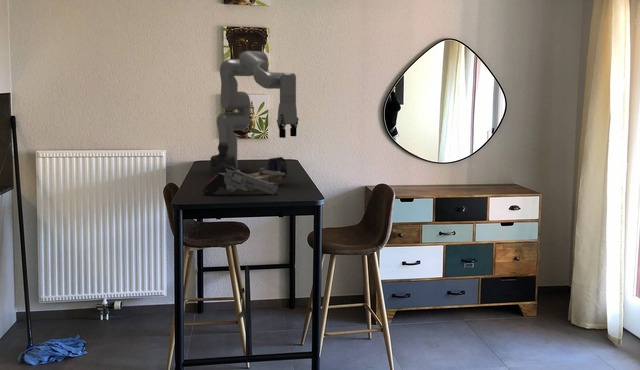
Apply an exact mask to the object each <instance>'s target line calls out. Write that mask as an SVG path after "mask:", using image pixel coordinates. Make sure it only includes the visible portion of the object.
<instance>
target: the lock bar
mask: <svg viewBox="0 0 640 370" xmlns="http://www.w3.org/2000/svg"><path fill="white" fill-rule="evenodd" d="M285 162H286V161H285ZM285 162H282V163H281V172H280V171H269V170H267V167H258V172H259V174H276V175H285V173H286V172H287V173H288V170H287V162H286V163H285Z"/></svg>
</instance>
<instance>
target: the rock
mask: <svg viewBox="0 0 640 370" xmlns="http://www.w3.org/2000/svg"><path fill="white" fill-rule="evenodd" d="M282 162H285V163H287V162H286V159H285V158H284V157H282V156H278V157H271V158H268V160H267V163H266V164H267V166H266V170H269V171H280V172H281V163H282ZM287 174H288V171H287V172H286V173H285V175H282V178H285V177H286V176H287Z"/></svg>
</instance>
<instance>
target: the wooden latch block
mask: <svg viewBox="0 0 640 370" xmlns="http://www.w3.org/2000/svg"><path fill="white" fill-rule="evenodd" d="M246 174H247V175H250V176H252V177H255V178H257V179H260V180H263V181H265V182H268V183H277V184H278V186H279V185H283V177H282V175H276V174H259V171H258V172H256V171H255V172H251V173H246ZM232 178H233V177H232ZM242 178H243V176H242ZM231 180H232V179H231ZM240 183H241V182H240ZM230 187H231V190H234V189H235V188H236V186H234V185H232V184H231V186H230ZM227 189H229V185H227ZM229 190H230V189H229ZM256 190H258V189H256V188H254V187H251V186H248V185H245V186H244V187H243V188H242V189H241V188H237V189H236V191H243V192H244V191H245V192H251V191H256Z"/></svg>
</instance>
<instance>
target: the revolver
mask: <svg viewBox="0 0 640 370" xmlns="http://www.w3.org/2000/svg"><path fill="white" fill-rule="evenodd" d="M226 171H227V173H218V175H217V176H215V175H214V177H213V178H211V180H210V181H208V182H207V184H206V185H205V186H204V188H203V191H202V192H203V193H204V194H205V195H207V196H212V195H213V194H216V192H218V191H219V190H220V188H223V189H225V190H226V191H228V192H231V193H233V192H236V191H237V190H236V189H237V188H241V189H242V188H243V187H244V186H245V185H248V186H251V187H254V188H256V189H257V190H258V191H261V192H264V193H267V194H270V195H272V196H274V195H275V194H276V193H277V192H278V187H279V185H278V184H277V183H268V182H265V181H263V180H260V179H257V178H255V177H252V176H250V175H247V174H248V173H244V172H242V171H241V170H240V171H237V170H236V169H234V168H233V167H231V169H230V170H229V171H228V169H226ZM234 172H235V173H234ZM233 174H234V175H233ZM242 176H243V178H242ZM232 177H233V178H232ZM231 179H232V180H231ZM240 182H241V183H240ZM231 184H232V185H234V186H236V188H235V189H231V187H230V186H231ZM227 185H229V189H227Z"/></svg>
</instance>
